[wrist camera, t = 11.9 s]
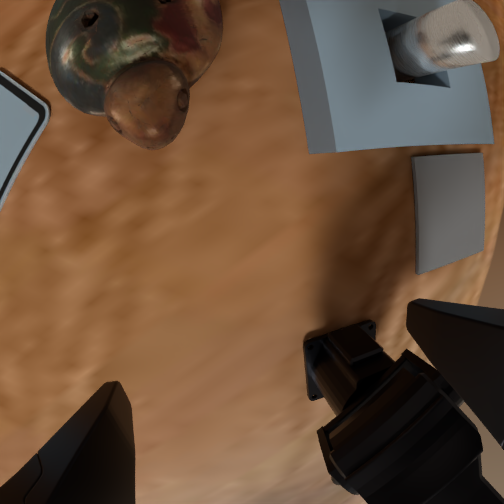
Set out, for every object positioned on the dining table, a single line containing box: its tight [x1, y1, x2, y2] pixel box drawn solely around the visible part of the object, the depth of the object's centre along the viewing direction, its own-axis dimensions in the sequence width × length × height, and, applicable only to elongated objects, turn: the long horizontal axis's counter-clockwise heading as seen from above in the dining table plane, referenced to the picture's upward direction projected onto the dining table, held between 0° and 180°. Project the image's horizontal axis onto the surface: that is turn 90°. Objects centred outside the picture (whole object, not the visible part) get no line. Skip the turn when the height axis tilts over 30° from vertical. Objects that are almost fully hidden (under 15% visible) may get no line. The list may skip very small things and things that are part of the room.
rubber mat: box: [411, 153, 485, 275], centre depth 24 cm, size 10×10×1 cm
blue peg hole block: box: [279, 0, 494, 154], centre depth 18 cm, size 14×16×4 cm
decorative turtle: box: [46, 0, 223, 150], centre depth 13 cm, size 10×15×8 cm, turn 21°
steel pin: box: [385, 0, 500, 82], centre depth 15 cm, size 4×4×10 cm
